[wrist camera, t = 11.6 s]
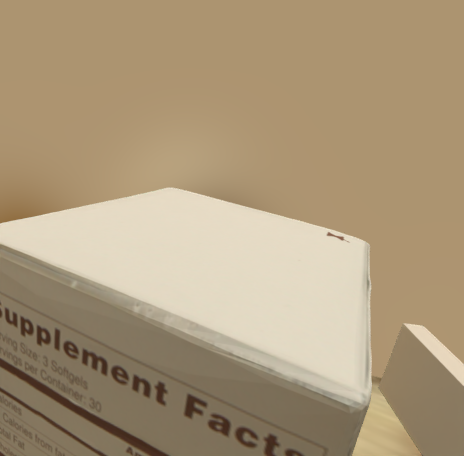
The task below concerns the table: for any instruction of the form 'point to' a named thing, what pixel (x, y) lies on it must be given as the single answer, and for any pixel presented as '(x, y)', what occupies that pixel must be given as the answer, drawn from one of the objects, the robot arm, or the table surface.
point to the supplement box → (181, 332)
